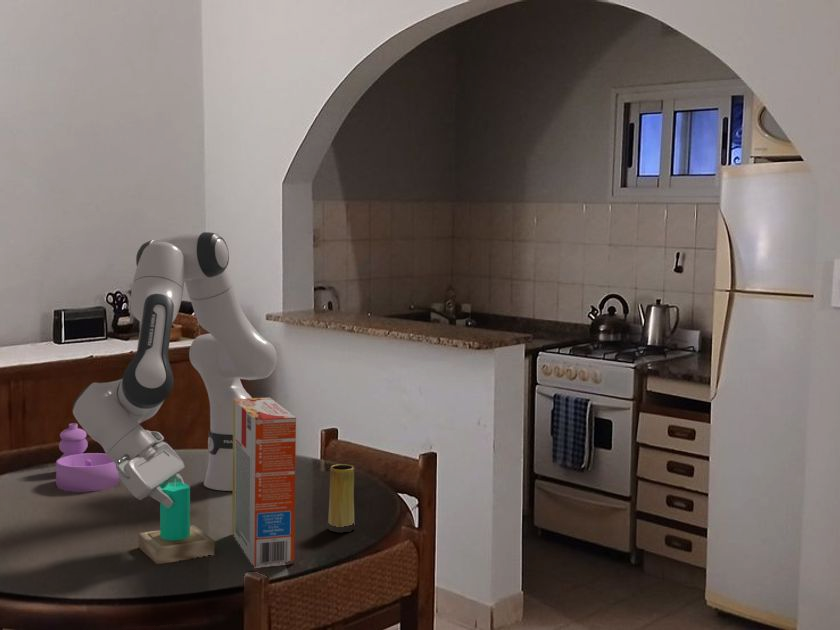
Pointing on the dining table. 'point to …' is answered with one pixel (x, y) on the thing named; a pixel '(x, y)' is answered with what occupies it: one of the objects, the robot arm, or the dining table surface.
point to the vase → (341, 495)
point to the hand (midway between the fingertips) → (179, 499)
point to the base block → (176, 546)
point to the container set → (83, 465)
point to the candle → (175, 512)
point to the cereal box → (264, 480)
